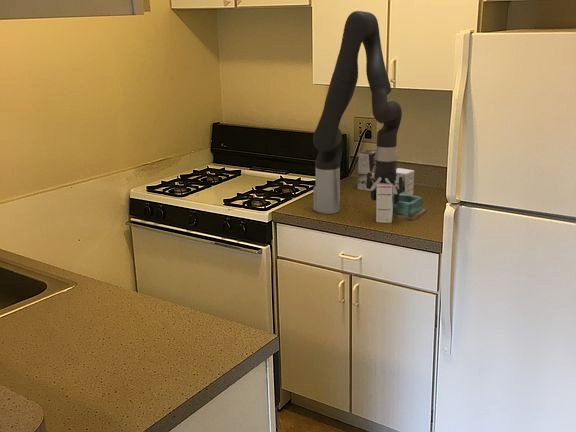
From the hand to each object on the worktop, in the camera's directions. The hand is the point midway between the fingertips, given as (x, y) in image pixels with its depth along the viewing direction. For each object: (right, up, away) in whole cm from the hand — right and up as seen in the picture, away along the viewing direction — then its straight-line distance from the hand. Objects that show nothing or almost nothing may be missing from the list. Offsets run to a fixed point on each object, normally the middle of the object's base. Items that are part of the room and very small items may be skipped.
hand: (384, 201), depth 233 cm
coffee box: (0, +7, +46) cm, 46 cm away
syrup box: (0, -7, +2) cm, 7 cm away
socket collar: (+9, -4, +9) cm, 13 cm away
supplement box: (+11, +1, +26) cm, 28 cm away
